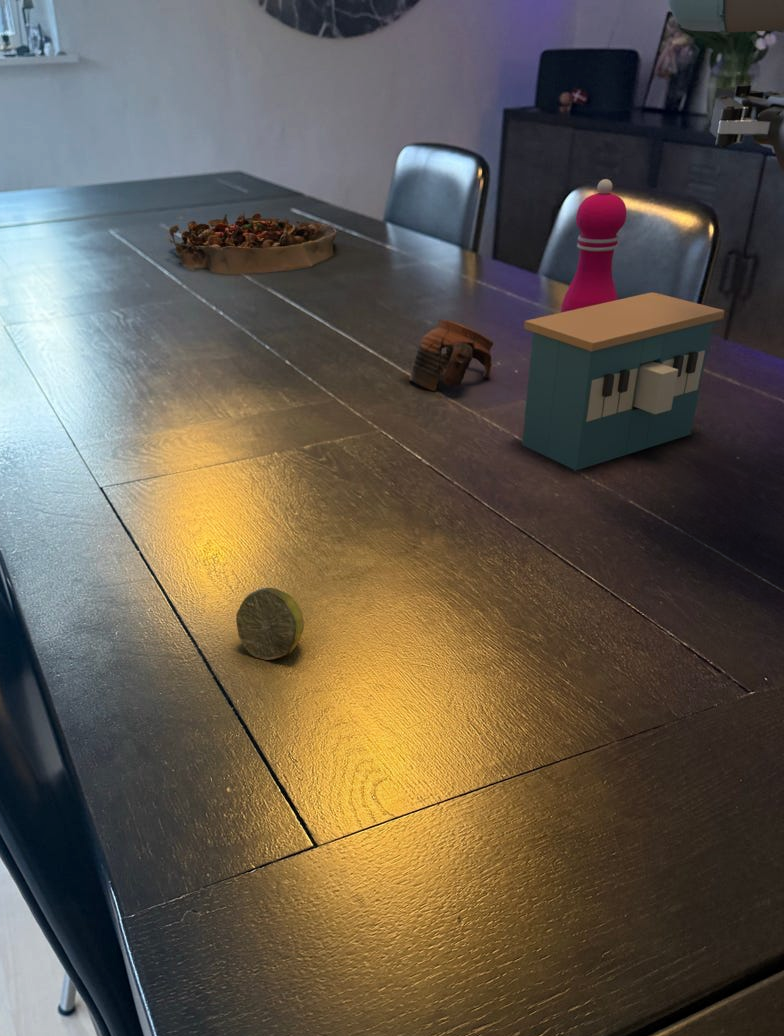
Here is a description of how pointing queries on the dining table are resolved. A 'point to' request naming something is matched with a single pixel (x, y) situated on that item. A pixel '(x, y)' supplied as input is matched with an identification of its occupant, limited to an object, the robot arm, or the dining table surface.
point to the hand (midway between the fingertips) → (721, 104)
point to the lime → (269, 623)
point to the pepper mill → (596, 249)
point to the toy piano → (612, 376)
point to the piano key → (655, 387)
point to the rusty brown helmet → (449, 355)
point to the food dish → (253, 245)
